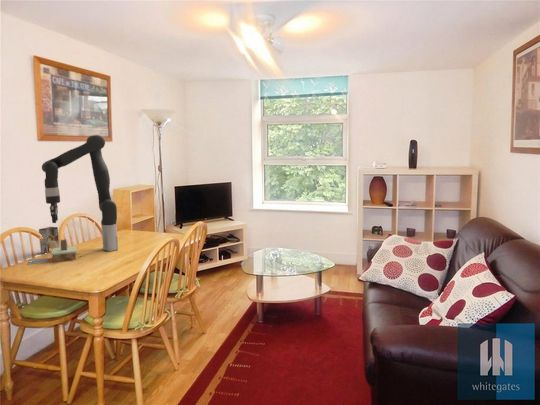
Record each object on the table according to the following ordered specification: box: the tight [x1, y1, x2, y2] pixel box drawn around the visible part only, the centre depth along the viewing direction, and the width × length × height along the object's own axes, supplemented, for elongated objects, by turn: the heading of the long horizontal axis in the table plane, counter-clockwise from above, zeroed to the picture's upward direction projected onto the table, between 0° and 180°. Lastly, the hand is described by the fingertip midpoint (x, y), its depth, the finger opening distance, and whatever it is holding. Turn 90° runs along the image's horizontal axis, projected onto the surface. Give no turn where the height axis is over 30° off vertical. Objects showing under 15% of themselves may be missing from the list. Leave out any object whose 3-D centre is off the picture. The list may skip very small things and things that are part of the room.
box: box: [51, 252, 77, 263], centre depth 243 cm, size 12×12×5 cm
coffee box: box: [38, 226, 60, 254], centre depth 260 cm, size 9×6×16 cm
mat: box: [26, 257, 49, 266], centre depth 237 cm, size 10×12×1 cm
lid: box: [50, 239, 77, 256], centre depth 242 cm, size 13×13×7 cm
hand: (55, 221), depth 242 cm, fingers open, 8 cm apart
